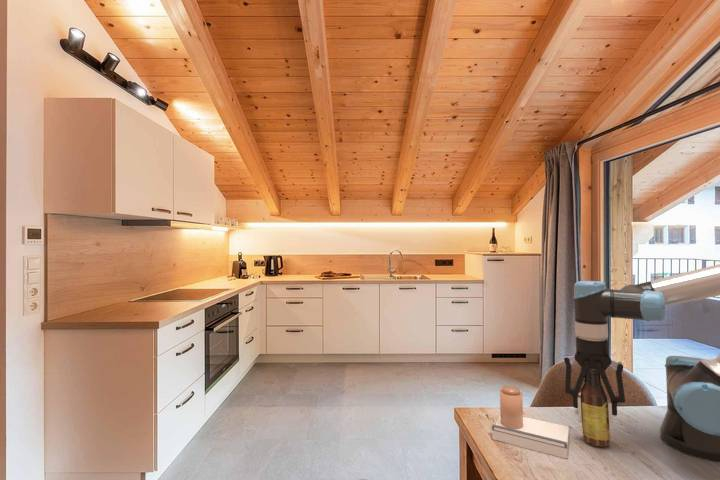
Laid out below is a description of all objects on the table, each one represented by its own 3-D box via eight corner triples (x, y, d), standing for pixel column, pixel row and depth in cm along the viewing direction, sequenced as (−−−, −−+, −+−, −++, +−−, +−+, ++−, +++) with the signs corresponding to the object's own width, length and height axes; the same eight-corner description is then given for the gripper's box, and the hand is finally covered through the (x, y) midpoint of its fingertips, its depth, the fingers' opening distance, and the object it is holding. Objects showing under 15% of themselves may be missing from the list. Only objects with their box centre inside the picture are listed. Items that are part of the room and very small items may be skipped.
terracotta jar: (524, 422, 103) (523, 387, 104) (521, 431, 98) (520, 394, 98) (502, 417, 106) (501, 383, 107) (498, 425, 101) (497, 390, 102)
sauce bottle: (614, 449, 93) (611, 372, 93) (588, 447, 94) (585, 371, 95) (603, 436, 99) (600, 364, 100) (578, 434, 100) (575, 363, 101)
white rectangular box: (569, 435, 100) (568, 422, 100) (567, 459, 89) (566, 444, 89) (501, 420, 110) (501, 408, 110) (492, 439, 99) (492, 425, 99)
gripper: (633, 338, 95) (638, 426, 95) (553, 331, 106) (556, 410, 105) (637, 345, 89) (641, 438, 88) (550, 336, 99) (554, 420, 99)
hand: (595, 423), depth 97 cm, fingers closed on sauce bottle, 6 cm apart
